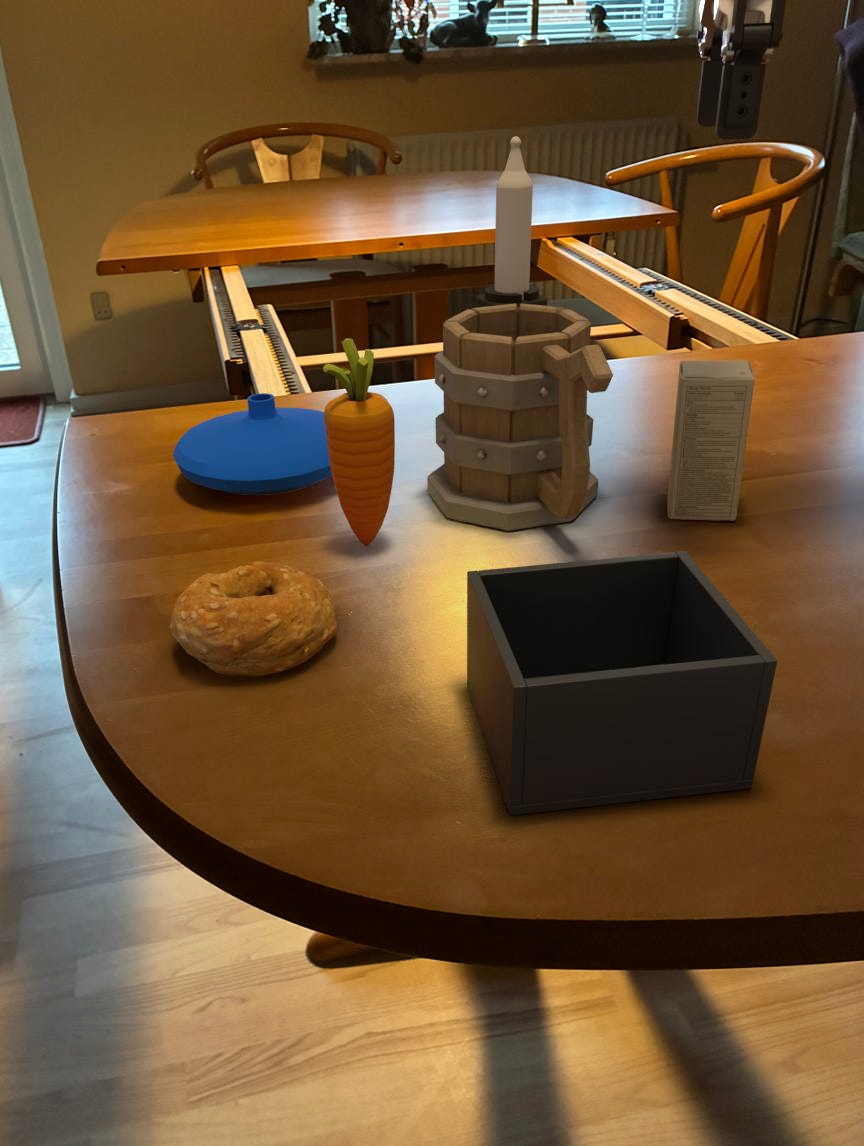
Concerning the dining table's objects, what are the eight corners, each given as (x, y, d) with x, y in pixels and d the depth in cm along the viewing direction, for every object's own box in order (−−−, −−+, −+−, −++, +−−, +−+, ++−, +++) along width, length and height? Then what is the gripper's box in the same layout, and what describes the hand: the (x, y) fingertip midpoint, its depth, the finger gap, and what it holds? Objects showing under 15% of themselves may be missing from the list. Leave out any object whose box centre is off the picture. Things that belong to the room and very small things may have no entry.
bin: (670, 665, 58) (685, 550, 54) (752, 788, 48) (778, 660, 44) (466, 686, 57) (466, 571, 53) (509, 816, 48) (514, 687, 44)
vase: (181, 525, 77) (166, 440, 74) (175, 455, 91) (163, 379, 87) (376, 501, 80) (372, 417, 76) (343, 436, 93) (338, 361, 89)
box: (732, 500, 77) (754, 359, 71) (736, 523, 74) (759, 377, 68) (663, 496, 78) (679, 358, 72) (664, 519, 75) (680, 375, 69)
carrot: (394, 562, 71) (384, 353, 63) (327, 559, 71) (309, 353, 64) (404, 532, 75) (397, 333, 67) (341, 529, 76) (326, 332, 68)
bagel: (377, 632, 62) (373, 566, 60) (239, 708, 56) (228, 637, 54) (278, 583, 69) (271, 521, 66) (144, 646, 62) (130, 580, 60)
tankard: (415, 477, 84) (410, 296, 76) (553, 458, 86) (562, 280, 78) (495, 584, 67) (499, 367, 59) (663, 556, 70) (689, 344, 62)
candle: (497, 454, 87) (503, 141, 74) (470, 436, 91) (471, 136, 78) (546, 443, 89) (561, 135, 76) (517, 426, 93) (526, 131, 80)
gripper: (880, -252, 45) (814, 142, 54) (810, -195, 57) (765, 119, 66) (711, -237, 46) (672, 146, 55) (677, -185, 58) (650, 124, 67)
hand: (723, 131), depth 60 cm, fingers open, 8 cm apart
